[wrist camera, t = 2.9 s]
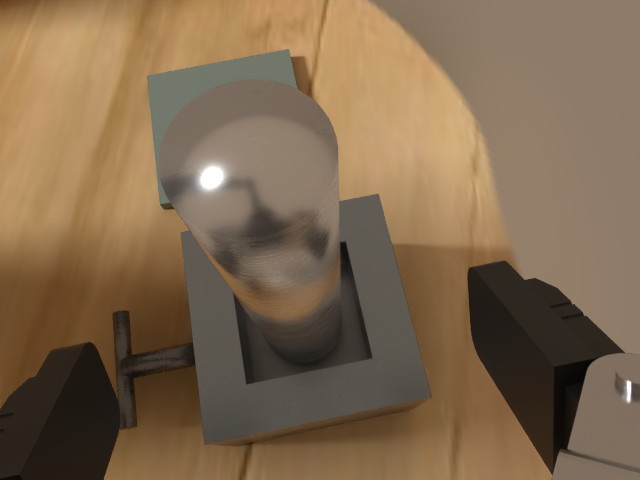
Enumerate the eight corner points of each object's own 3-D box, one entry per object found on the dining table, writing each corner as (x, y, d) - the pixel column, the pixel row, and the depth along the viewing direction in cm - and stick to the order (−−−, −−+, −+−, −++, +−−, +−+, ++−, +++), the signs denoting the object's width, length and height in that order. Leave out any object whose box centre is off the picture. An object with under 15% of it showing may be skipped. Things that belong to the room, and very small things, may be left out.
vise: (135, 466, 24) (78, 471, 19) (123, 292, 27) (71, 254, 22) (413, 408, 24) (431, 396, 19) (372, 242, 27) (378, 193, 22)
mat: (163, 208, 28) (159, 204, 28) (150, 82, 31) (147, 75, 31) (316, 179, 29) (316, 173, 28) (289, 56, 31) (288, 49, 31)
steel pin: (271, 370, 22) (167, 254, 9) (259, 295, 23) (151, 96, 10) (348, 354, 22) (355, 217, 9) (332, 280, 24) (318, 65, 10)
